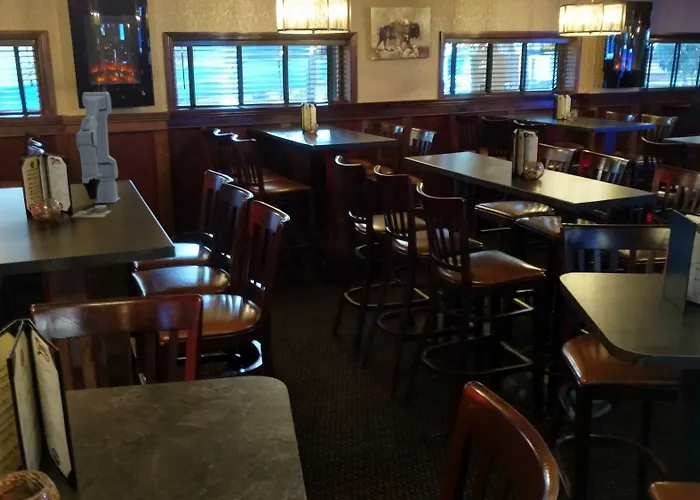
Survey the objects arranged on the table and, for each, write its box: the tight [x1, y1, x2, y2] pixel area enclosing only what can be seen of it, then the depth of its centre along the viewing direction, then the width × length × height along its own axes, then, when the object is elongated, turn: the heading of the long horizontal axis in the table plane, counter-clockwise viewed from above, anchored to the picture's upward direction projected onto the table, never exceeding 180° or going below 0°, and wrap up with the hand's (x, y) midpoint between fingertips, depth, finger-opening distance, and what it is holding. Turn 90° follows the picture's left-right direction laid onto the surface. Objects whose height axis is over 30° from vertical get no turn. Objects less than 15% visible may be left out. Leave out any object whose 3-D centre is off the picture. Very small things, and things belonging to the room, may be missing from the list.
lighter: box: [85, 204, 108, 215], centre depth 261 cm, size 7×2×8 cm
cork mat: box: [70, 209, 113, 219], centre depth 258 cm, size 11×12×1 cm
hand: (93, 199), depth 261 cm, fingers closed
